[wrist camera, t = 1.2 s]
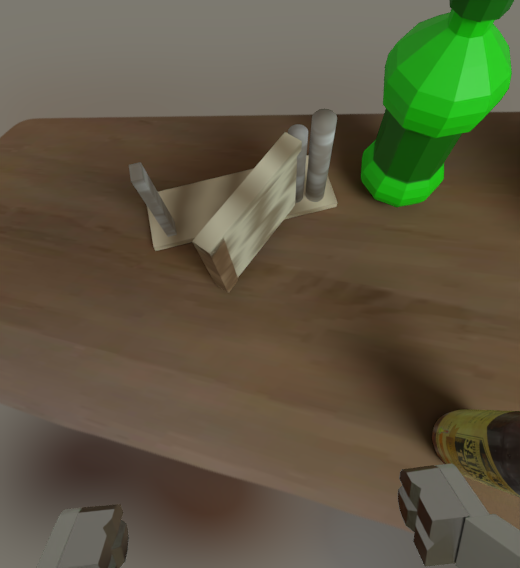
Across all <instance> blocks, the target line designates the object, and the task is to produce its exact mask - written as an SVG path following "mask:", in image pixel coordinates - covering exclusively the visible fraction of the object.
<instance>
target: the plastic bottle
mask: <svg viewBox="0 0 520 568" xmlns="http://www.w3.org/2000/svg"><path fill="white" fill-rule="evenodd" d="M513 1H514V0H450V7H451V8H452V9H451V12H450V13H446V14H442V15H439V16H436V17H433V18H431V19H428V20H425V21H423V22H420V23H418V24H417V25H416V26H415V27H414V28H413V29H412V30H410V31H409V32H408V33H407V34H406V35H405V36H404V37H403V38H402V39H401V40H400V41H398V42H397V44H396V45H395V46H394V48H393V49H392V50H391V51H390V53H389V55H388V58H387V61H386V65H385V77H384V98H383V105H384V106H385V107H386V110H385V113H384V116H383V119H382V123H381V126H380V129H379V132H378V135H377V138H376V140H375V141H374V142H373V143H372V144H371V145H370V146H369V147H368V148H367V149H366V150H365V151H364V152H363V156H362V166H361V180H362V183H363V184H364V185H365V187H366V188H367V190H368V191H369V192H370V194H371V195H372V196H373V198H374V199H376V200H378V201H381V202H384V203H386V204H389V205H392V206H394V207H400V206H406V205H411V204H417V203H420V202H423V201H425V200H426V198H427V197H428V196H429V195H430V194H431V193H432V192H433V191H434V190H435V189H436V188H437V187H438V186H439V185H440V183H441V182H442V180H443V179H444V162H445V160H446V158H447V157H448V155H449V154H450V152H451V150H452V149H453V147H454V146H455V144H456V142H457V141H458V139H459V138H460V136H461V134H462V133H465V132H470V131H471V130H472V129H473V128H474V127H475V126H476V125H477V124H478V123H479V122H480V121H481V120H482V119H483V118H484V117H485V116H486V115H487V114H488V113H489V112H490V111H491V110H492V109H493V108H494V107H495V106H496V105H497V104H498V102H500V100H501V99H502V98H503V96H504V95H505V93H506V92H507V90H508V89H509V85H510V79H511V74H512V73H511V61H510V50H509V46H508V44H507V43H506V41H505V39H504V38H503V36H502V34H501V33H500V31H499V30H498V29H497V28H496V27H495V26H494V24H493V22H494V20H497V19H499V18H500V17H501V16H503V15H504V14H505V13H506V12H507V11H508V10H509V9H510V7H511V5H512V3H513Z"/></svg>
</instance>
